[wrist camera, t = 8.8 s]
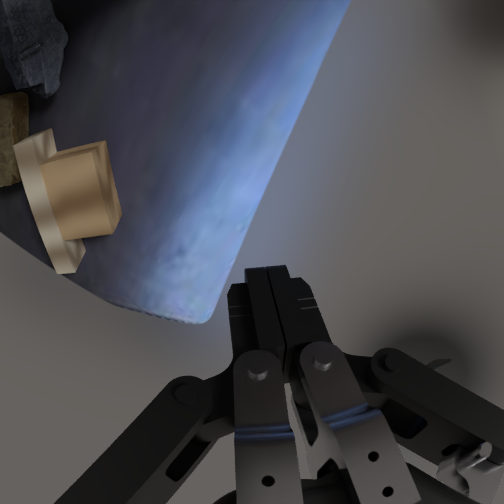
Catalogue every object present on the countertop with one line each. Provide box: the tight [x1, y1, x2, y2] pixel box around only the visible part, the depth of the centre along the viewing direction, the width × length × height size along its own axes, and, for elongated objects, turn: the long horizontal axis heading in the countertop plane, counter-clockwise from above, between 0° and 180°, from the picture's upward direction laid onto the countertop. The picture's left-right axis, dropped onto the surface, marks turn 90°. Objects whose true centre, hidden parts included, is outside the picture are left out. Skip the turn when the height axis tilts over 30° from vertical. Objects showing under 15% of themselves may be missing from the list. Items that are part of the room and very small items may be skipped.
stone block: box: [0, 92, 29, 187], centre depth 25 cm, size 6×12×5 cm, turn 172°
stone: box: [0, 0, 68, 98], centre depth 18 cm, size 14×6×10 cm, turn 18°
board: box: [13, 128, 86, 274], centre depth 31 cm, size 18×3×5 cm, turn 2°
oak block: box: [40, 140, 122, 241], centre depth 31 cm, size 10×7×5 cm
